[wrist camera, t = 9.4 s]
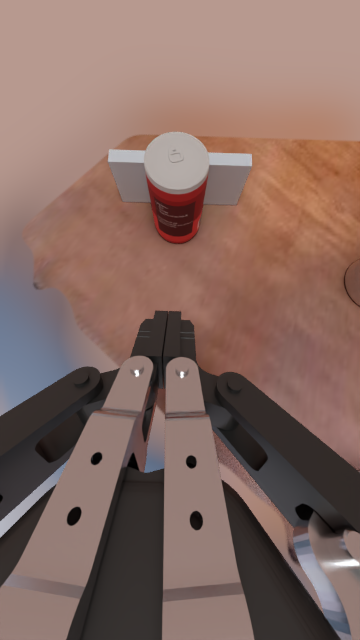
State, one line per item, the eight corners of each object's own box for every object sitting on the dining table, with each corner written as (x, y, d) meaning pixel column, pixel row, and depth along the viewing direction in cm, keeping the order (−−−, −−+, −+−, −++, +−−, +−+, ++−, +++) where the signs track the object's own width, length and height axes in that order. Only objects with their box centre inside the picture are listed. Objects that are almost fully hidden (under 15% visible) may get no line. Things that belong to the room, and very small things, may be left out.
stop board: (235, 171, 34) (250, 125, 27) (236, 205, 33) (252, 166, 26) (125, 167, 34) (112, 120, 27) (122, 201, 33) (107, 161, 26)
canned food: (184, 196, 33) (188, 120, 22) (208, 232, 32) (223, 171, 21) (146, 215, 32) (130, 147, 21) (169, 252, 31) (164, 200, 20)
